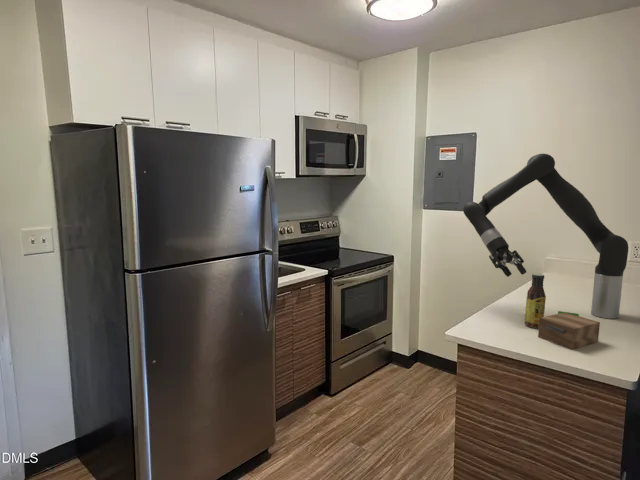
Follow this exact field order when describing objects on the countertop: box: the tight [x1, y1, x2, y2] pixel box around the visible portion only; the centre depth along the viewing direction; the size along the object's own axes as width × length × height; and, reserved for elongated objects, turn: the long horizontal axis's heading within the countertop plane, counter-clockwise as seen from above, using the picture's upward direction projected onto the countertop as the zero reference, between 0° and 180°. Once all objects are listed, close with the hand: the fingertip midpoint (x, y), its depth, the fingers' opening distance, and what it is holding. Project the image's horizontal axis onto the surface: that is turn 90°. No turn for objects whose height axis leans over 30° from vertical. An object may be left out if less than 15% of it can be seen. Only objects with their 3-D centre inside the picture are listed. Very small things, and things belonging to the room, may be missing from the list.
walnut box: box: [537, 311, 601, 350], centre depth 136 cm, size 15×12×7 cm
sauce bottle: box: [524, 273, 547, 329], centre depth 149 cm, size 6×6×20 cm
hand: (517, 274), depth 155 cm, fingers open, 8 cm apart
